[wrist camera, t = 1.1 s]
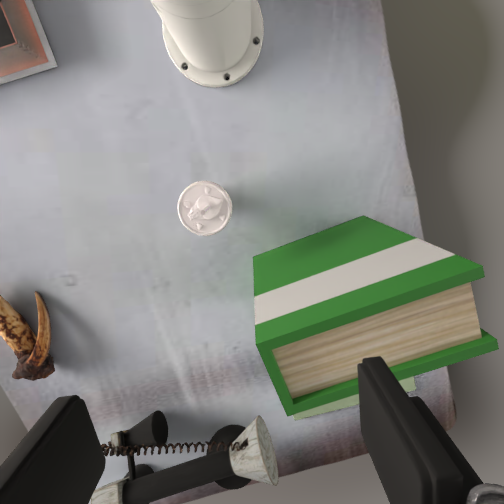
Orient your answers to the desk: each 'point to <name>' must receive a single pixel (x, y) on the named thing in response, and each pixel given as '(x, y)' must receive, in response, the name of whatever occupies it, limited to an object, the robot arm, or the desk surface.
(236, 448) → the telephone
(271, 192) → the desk surface
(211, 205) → the smoothie
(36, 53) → the picture frame
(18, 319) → the bone fish hook
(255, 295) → the hardback book
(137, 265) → the desk surface
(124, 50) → the desk surface
